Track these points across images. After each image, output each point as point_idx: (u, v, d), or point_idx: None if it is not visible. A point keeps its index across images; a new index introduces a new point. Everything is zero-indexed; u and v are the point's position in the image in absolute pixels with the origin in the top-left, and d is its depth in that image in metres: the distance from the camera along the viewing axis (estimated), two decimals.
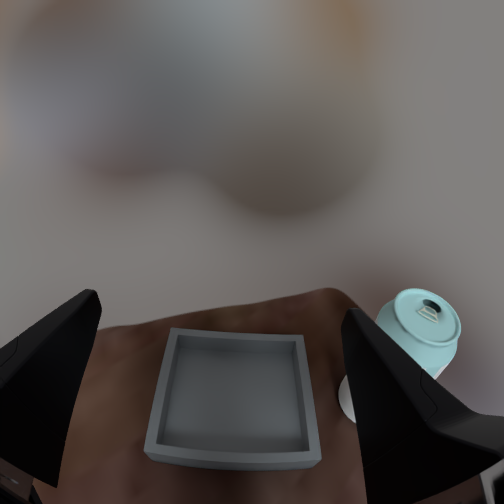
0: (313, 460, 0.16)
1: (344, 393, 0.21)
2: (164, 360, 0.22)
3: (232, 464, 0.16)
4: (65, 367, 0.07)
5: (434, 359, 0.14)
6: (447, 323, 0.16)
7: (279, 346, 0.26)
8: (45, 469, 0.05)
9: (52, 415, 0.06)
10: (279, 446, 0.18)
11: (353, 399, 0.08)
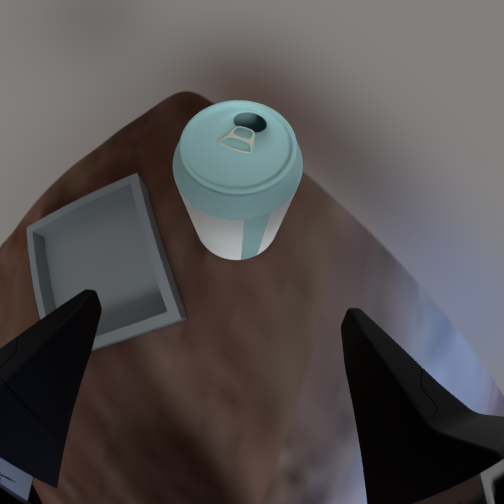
0: (174, 320, 0.20)
1: None
2: (31, 265, 0.19)
3: (112, 342, 0.19)
4: (65, 367, 0.07)
5: (251, 208, 0.13)
6: (273, 148, 0.13)
7: (119, 194, 0.22)
8: (45, 469, 0.05)
9: (52, 415, 0.06)
10: (148, 306, 0.21)
11: (353, 399, 0.08)
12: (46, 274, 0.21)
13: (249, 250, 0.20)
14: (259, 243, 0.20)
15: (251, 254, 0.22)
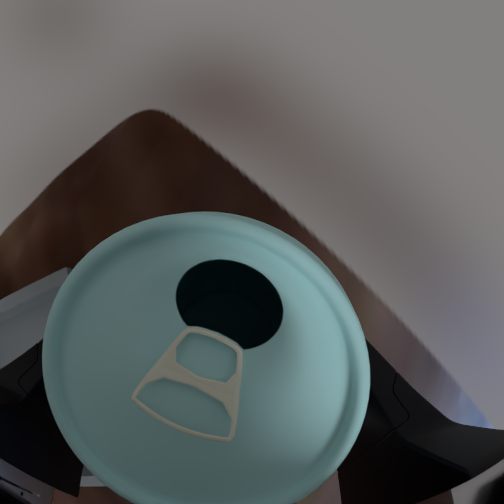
0: None
1: None
2: None
3: None
4: None
5: None
6: (300, 402, 0.04)
7: (49, 294, 0.13)
8: (67, 479, 0.05)
9: None
10: None
11: None
12: None
13: None
14: None
15: None
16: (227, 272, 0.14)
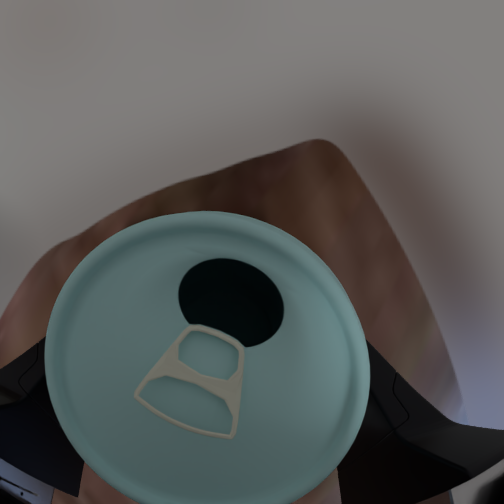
0: None
1: None
2: None
3: None
4: None
5: None
6: (301, 400, 0.04)
7: None
8: (67, 479, 0.05)
9: None
10: None
11: None
12: None
13: None
14: None
15: None
16: (228, 271, 0.14)
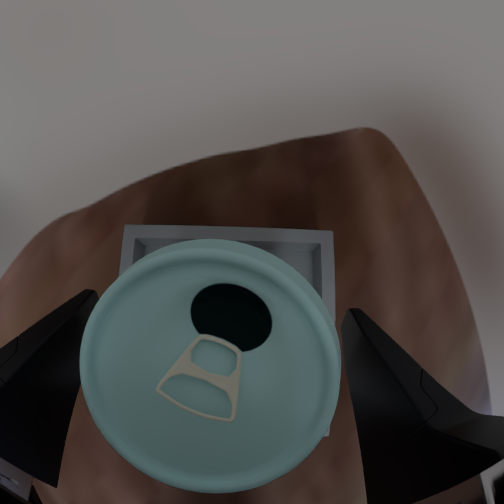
0: None
1: None
2: None
3: None
4: (65, 367, 0.07)
5: None
6: (285, 393, 0.05)
7: (294, 245, 0.17)
8: (45, 469, 0.05)
9: (52, 415, 0.06)
10: None
11: (353, 399, 0.08)
12: None
13: None
14: None
15: None
16: None
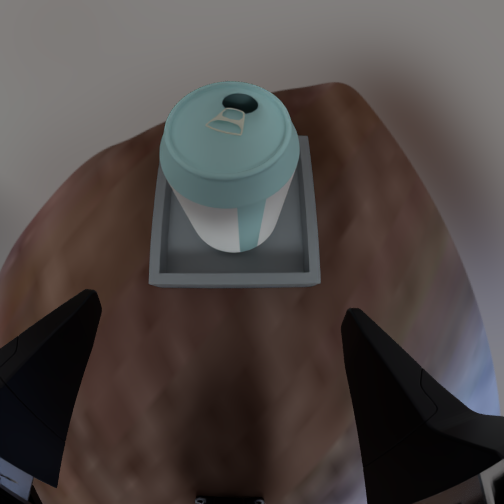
0: (312, 283, 0.20)
1: None
2: (159, 176, 0.22)
3: (234, 285, 0.21)
4: (65, 367, 0.07)
5: (244, 194, 0.12)
6: (266, 128, 0.12)
7: None
8: (45, 469, 0.05)
9: (52, 415, 0.06)
10: (280, 261, 0.23)
11: (353, 399, 0.08)
12: (170, 192, 0.23)
13: (247, 241, 0.19)
14: (257, 233, 0.18)
15: (250, 246, 0.21)
16: None
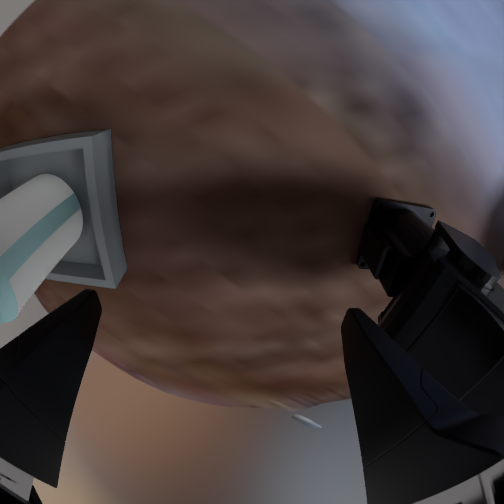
0: (93, 143, 0.16)
1: None
2: None
3: (105, 216, 0.19)
4: (65, 367, 0.07)
5: None
6: None
7: (0, 174, 0.17)
8: (45, 469, 0.05)
9: (52, 415, 0.06)
10: None
11: (353, 399, 0.08)
12: None
13: (60, 216, 0.17)
14: (48, 215, 0.15)
15: (69, 204, 0.18)
16: None
